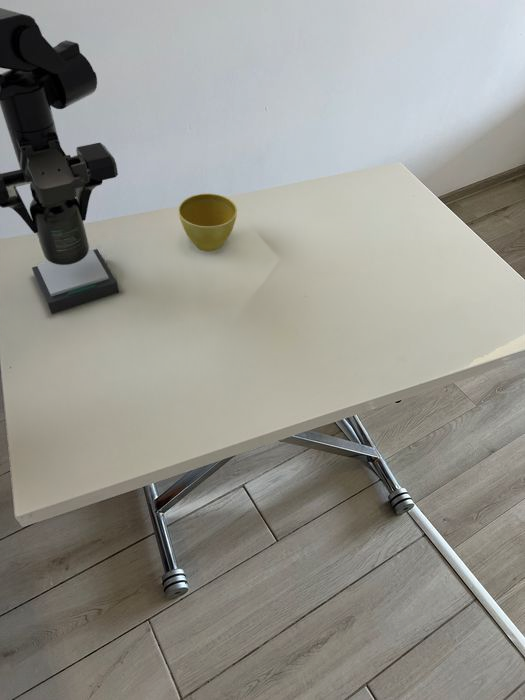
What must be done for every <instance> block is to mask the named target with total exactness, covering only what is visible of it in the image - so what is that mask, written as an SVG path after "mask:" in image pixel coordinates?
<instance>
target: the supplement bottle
mask: <svg viewBox="0 0 525 700" xmlns="http://www.w3.org/2000/svg"><path fill="white" fill-rule="evenodd" d="M29 189H30V192H31V197H32V200H31V202H30V203H29V208H28V209H29V214H30V216H31V218H32V220H33V222H34V225H35V227H36V231H37V233H36V236H37V239H38V242H39V245H40V248H41V251H42V254H43V256H44V258H45V259H46V260H47V261H50V262H51V263H54V264H57V265H70V264H74V263H77V262H79V261H81V260H82V259H83V258H84V257H85V256H86V255H87V254H88V251H89V249H90V245H89V241H88V236H87V231H86V228H85V223H84V221H83V219H82V215H81V211H80V207H79V203H78V201H77V199H76V197H75V198H74V199H72V200H63V201H59V202H55V203H53V204H51V205H44V204H42V203H41V202H40V201H39V199H38V196H37V194H36V192H35V189H34V187H33V185H32V183H30V184H29Z"/></svg>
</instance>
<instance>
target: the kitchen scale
mask: <svg viewBox="0 0 525 700" xmlns="http://www.w3.org/2000/svg"><path fill="white" fill-rule="evenodd" d="M31 269H32V273H33V275H34V276H33V277H34V278H35V281H36V282H37V283H36V284H37V285H38V288H39V289H40V292H41V294H42V297H43V298H44V301H45V303H46V305H47V307H48V309H49V312H50V314H51V315H54V314H58V313H60V312H63V311H67V310H69V309H73V308H76V307H80V306H82V305H86V304H88V303H92V302H95V301H98V300H100V299H105V298H107V297H110V296H113V295H117V294H119V293H120V290H119V285H118V281H117V279H116V278H115V276H114V274H113V273H112V270H110V269H111V268H109V266H108V265H107V263H106V261H105V259H104V257H103V256H102V254H101V253H100V251H99V249H98V248H95V249H93V248H89V251H88V254H87V255H86V256H85V257H84V258H83V259H82V260H81V261H79V262H77V263H74V264H70V265H57V264H54V263H51V262H50V261H48V260H47V261H44V262H40V263H37V264H36V266H33V267H31Z"/></svg>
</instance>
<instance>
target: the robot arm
mask: <svg viewBox="0 0 525 700" xmlns="http://www.w3.org/2000/svg"><path fill="white" fill-rule="evenodd" d="M91 64H92V63H90V62H89V60H88V59H87V58H86V56H85V55H84V54H82V53H81V50H80V45H79V43H78V42H74V41H71V40H67V39H65V40H63V41H61V42H59V43H58V44H57V45H55V46H53V45H51V44H50V42H48V40H47V39H46V37H44V36H43V33H42V30H41V28H40V27H39V25H38V24H37V22H36V19H35V18H34V17H32V16H31V15H29V14H24V13H20V12H16V11H13V10H10V9H6V8H2V7H0V69H5V70H6V71H4V72H2V73H0V109H1V112H2V115H3V119H4V122H5V125H6V128H7V132H8V134H9V137H10V141H11V144H12V147H13V150H14V154H15V156H16V159H17V163H18V166H19V169H16V170H11V171H7V172H2V173H0V208H2V209H5V208H10V209H12V210H13V211H14V212H16V214H17V215H18V216H20V218H21V220H23V222H24V223H25V224H26V225H27V226H28V227H29V229H30V230H31V231H32V233H33V234H37V231H36V227H35V225H34V222H33V220H32V217H31V214H30V211H29V210H28V209H27V206H26V204H25V202H24V201H23V199H22V196H21V195H20V192H19V190H18V189H17V187H21V186H25V185H30V183H32V185H33V187H34V189H35V192H36V194H37V196H38V199H39V201H40V202H41V203H42V204H44V205H51V204H53V203H55V202H59V201H63V200H72V199H74V198H76V199H77V201H78V203H79V207H80V211H81V215H82V219H83V222H84V221H86V217H87V213H88V208H89V202H90V198H91V195H92V192H93V190H94V189H96V187H100V186H101V185H102V184H103V181H106V180H110V179H114V178H117V176H118V175H119V173H118V168H117V167H118V166H117V162H116V159H115V158H114V156H113V155H112V154H111V152H110V151H109V150H108V148H107V146H106V145H104V144H103V143H102V142H95V143H90V144H86V145H81V146H77V147H76V155H73V156H71V154H66V153H65V151H64V150H63V147H62V145H61V143H60V140H59V136H58V131H57V127H56V123H55V120H54V115H53V111H52V108H54V109H56V110H63V109H66V108H68V107H69V106H72V105H74V104H75V103H77V102H79V101H81V100H83V99H85V98H87V97H88V96H90V95H91V96H92V95H93V94H94V93H95V91H96V90H97V86H98V77H97V73H96V72H95V71H94V68H93V66H92V65H91Z"/></svg>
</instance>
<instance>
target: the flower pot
mask: <svg viewBox="0 0 525 700" xmlns="http://www.w3.org/2000/svg"><path fill="white" fill-rule="evenodd" d="M237 215H238V208H237V205H236V204H235V202H234V201H232V200H231V199H230V198H228V197H226V196H224V195H220V194H216V193H199V194H195V195H194V194H193V195H191V196H189V197H187V198H185V199H184V200H183V201H182V202H181V203H180V204H179V206H178V217H179V220H180V223H181V225H182V228H183V230H184V233H185V234H186V236H187V238H188V239H189V240H190V241H191V243H192V244H193V245H194V247H196V248H197V249H198V250H200V251H202V252H203V251H204V252H215V251H217V250H219V249H221V248H222V247H223V245H224V244H225V243H226V241H227V240H228V239H229V237H230V235H231V234H232V232H233V229H234V226H235V224H236V219H237Z"/></svg>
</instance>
